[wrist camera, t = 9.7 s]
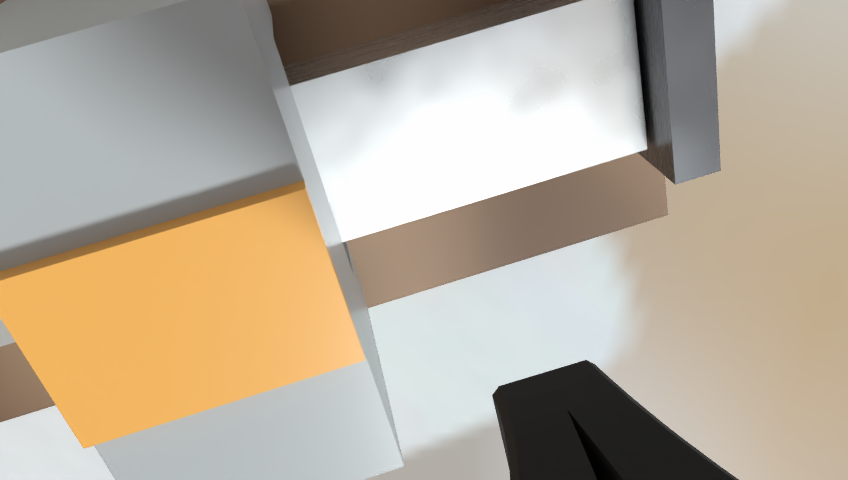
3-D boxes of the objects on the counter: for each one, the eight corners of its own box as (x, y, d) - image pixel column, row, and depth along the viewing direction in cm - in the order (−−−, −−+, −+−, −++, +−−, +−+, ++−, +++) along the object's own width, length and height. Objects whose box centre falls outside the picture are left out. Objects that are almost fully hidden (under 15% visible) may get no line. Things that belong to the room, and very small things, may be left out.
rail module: (243, -70, 14) (236, -11, 9) (362, 288, 18) (406, 479, 13) (13, -5, 14) (-141, 96, 9) (185, 342, 18) (155, 560, 13)
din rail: (648, -63, 16) (710, -47, 14) (665, 130, 18) (720, 170, 16) (-230, 191, 15) (-313, 252, 13) (-101, 362, 17) (-153, 439, 15)
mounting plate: (613, -185, 16) (633, -185, 15) (650, 198, 20) (668, 214, 19) (-274, 64, 15) (-307, 78, 14) (-29, 408, 19) (-42, 435, 18)
